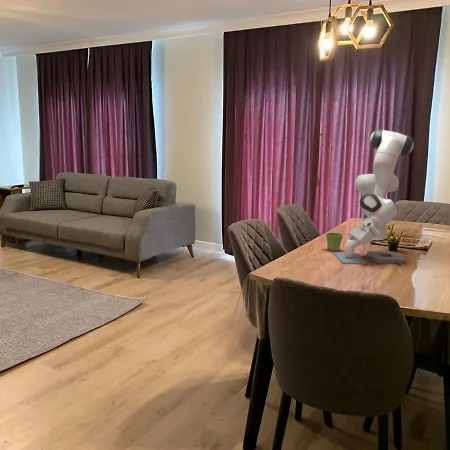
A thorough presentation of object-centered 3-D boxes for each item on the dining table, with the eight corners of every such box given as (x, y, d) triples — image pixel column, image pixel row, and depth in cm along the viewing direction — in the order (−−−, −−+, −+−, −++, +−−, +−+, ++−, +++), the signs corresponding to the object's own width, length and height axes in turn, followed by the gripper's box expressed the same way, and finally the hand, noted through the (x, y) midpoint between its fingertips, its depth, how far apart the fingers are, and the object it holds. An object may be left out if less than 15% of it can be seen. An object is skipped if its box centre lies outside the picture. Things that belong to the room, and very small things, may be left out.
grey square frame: (366, 255, 244) (367, 250, 244) (394, 255, 244) (394, 251, 244) (379, 265, 224) (380, 261, 223) (409, 266, 224) (409, 261, 223)
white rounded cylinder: (343, 256, 239) (345, 239, 237) (353, 256, 239) (354, 239, 237) (346, 258, 234) (347, 241, 233) (355, 258, 234) (356, 241, 233)
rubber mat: (333, 253, 246) (333, 252, 246) (356, 253, 246) (356, 252, 246) (342, 263, 227) (342, 262, 226) (367, 264, 227) (367, 262, 226)
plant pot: (343, 248, 257) (344, 233, 255) (341, 252, 248) (342, 236, 247) (325, 247, 260) (326, 231, 258) (323, 251, 251) (324, 235, 250)
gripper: (360, 218, 243) (339, 236, 245) (372, 225, 223) (350, 245, 225) (368, 227, 244) (348, 245, 246) (381, 235, 224) (358, 255, 226)
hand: (349, 245), depth 235 cm, fingers open, 8 cm apart
